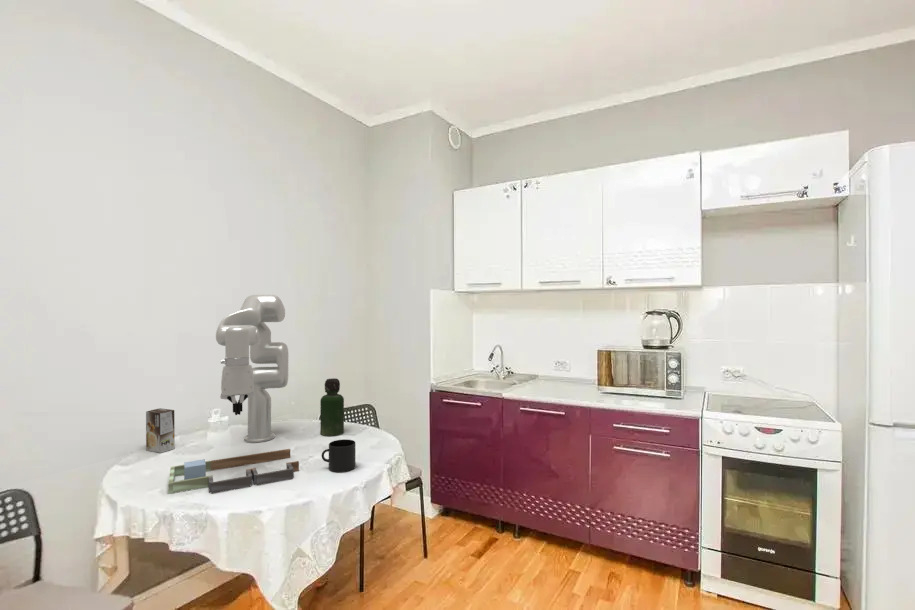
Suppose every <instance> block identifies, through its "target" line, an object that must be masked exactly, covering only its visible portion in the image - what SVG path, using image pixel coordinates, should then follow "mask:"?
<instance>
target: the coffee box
mask: <svg viewBox="0 0 915 610" xmlns="http://www.w3.org/2000/svg"><path fill="white" fill-rule="evenodd" d="M175 432H176V431H175V410H174V409H167V408H155V409H151V410H147V411H145V437H146V438H145V450H146V451H147V452H153V453H158V454H162V453H165V452H168V451H171V450H175V445H176V444H175V436H176V435H175Z"/></svg>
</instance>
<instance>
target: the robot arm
mask: <svg viewBox="0 0 915 610" xmlns="http://www.w3.org/2000/svg"><path fill="white" fill-rule="evenodd" d="M285 317H286V309H285V305H284V304H283V302H282V300H281V298H280V297H279V296H277V295H275V294H252V295H249V296H247V297H246V298H244V301H243V302H242V306H241V307H240V309H239V310H238V311H236V312H233V313H231V314H229V315H227V316H224V318H222V320H221V321H220V322H219V325H218V327H217V329H216V332H215V340H216V342H217V344H218V345H220V346H223V347H225V358H223V359H220V364H223V365H224V366H223V367H222V371H221V383H220V384H221V385H220V391H221V393H220V399H221V400H228V401H229V402H230V403H232V413H234V415H235V416H238V415H240V416H241V413H242V412H243V403H244V402H245V400H247V435H245V436H244V437H243V441H244V442H246V443H262V442H269V441H271V440H273V439H274V438H275V437H276V434H275V433H274V432H272V397H271V395H270V393H269V392H268V391H267V389H283V388H285V387H287V386H288V382H289V348H288V345H287V344H286V343H284V342H280V341H278V342H276V341H275V342H272V331H271V329H270V327H269V326H268V325H267V324H266V323H280V322H282V321H284V319H285ZM250 361H251V363H253V364H255V365H270V364H272V365H274V364H275V365H277V366H257V367H253V366H252V365H251V364H250ZM236 396H239V398H238V400H236Z"/></svg>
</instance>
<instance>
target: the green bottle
mask: <svg viewBox="0 0 915 610" xmlns="http://www.w3.org/2000/svg"><path fill="white" fill-rule="evenodd" d="M340 387H341V382H340V380H339V379H338V378H334V377H333V378H326V380H325V382H324V392H325V393H326V394H324V395H323V396H322V397H321V398H320V403H319V404H320V406H319V408H320V409H319V410H320V411H319V412H320V423H319V424H320V426H319V427H320V432H319V433H320V435H322V436H324V437H335V436H339V435H342V434H344V433H345V404H344V403H345V397H344V396H343V395H342V394H339V392H340Z"/></svg>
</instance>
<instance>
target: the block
mask: <svg viewBox="0 0 915 610" xmlns="http://www.w3.org/2000/svg"><path fill="white" fill-rule="evenodd" d="M205 461H206V459H197V460H191V461H184V464H183V465H184V475H183V476H184V477H183V478H184V479H183V480H186V479H192V478H199V477H205V476H207V475H206V472H207V471H206V463H205Z"/></svg>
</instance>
